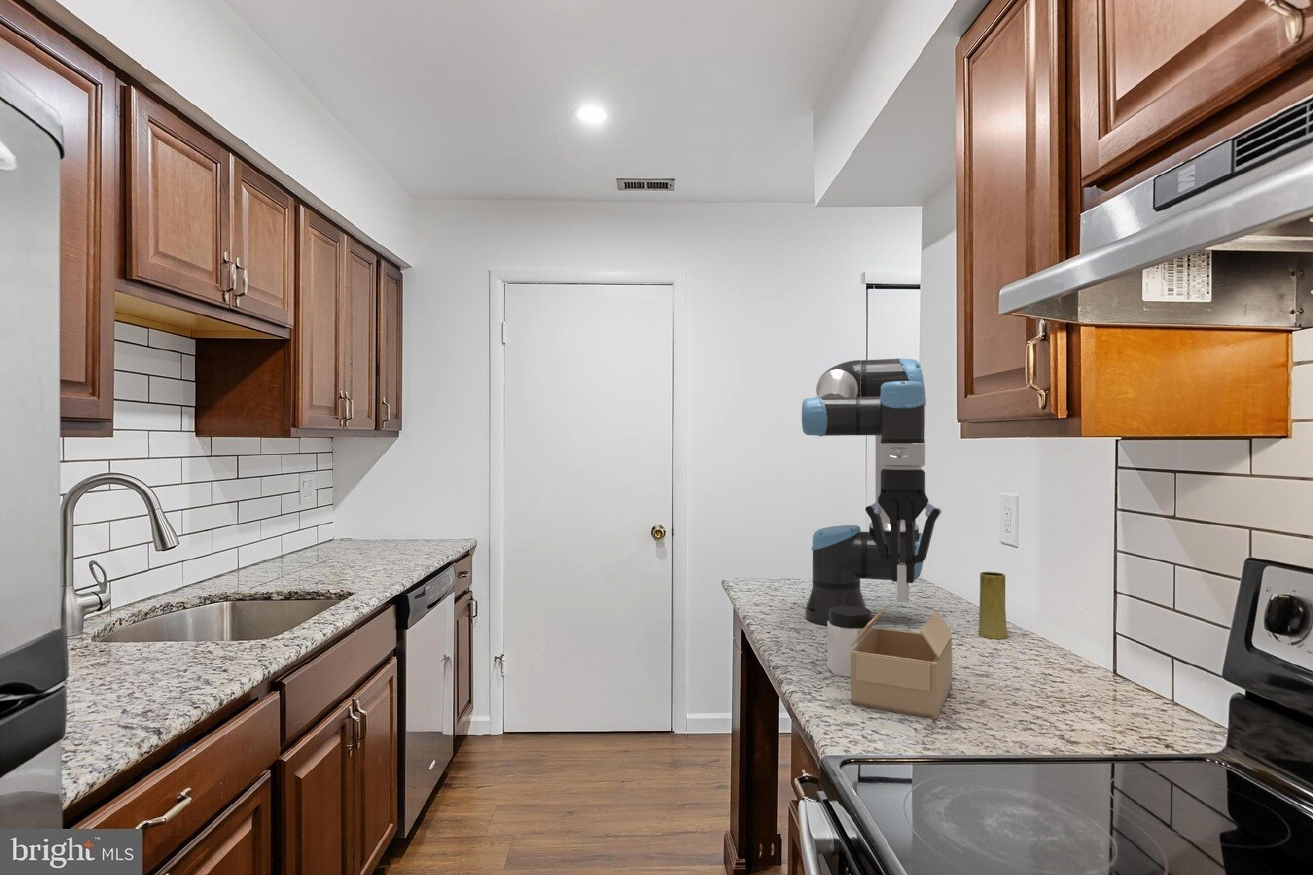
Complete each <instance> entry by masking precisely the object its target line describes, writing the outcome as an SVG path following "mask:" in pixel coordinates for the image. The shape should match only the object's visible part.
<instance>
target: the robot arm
mask: <svg viewBox="0 0 1313 875" xmlns="http://www.w3.org/2000/svg"><path fill="white" fill-rule="evenodd" d="M925 389H926V388H925V381H924V375H923V370H922V367H921V363H920V362H919V361H917V359H914V358H913V359H912V358H899V357H898V358H888V359H887V358H885V359H861V360H860V359H857V360H856V359H855V360H849V361H845V362H841V363H839V364H836V365H834V366H832V367H831V368H829V369H827V370H825V372H824V373H823V374H821V376H820V377H819V378H818V381H817V383H816V388H815V390H816V391H815V392H816V396H814V397H808V398H807V397H806V398H804V399H803V401H802V403H801V425H802V426H801V428H802V432H803V433H804V435H807V436H818V437H824V436H825V437H826V436H827V437H828V436H829V437H830V436H831V437H832V436H834V437H835V436H836V437H839V436H875V439H874V440H875V502H874V503H872V504H870V505H868V506H866V507H865V512H866V514H867V515H868V517H869V518H870V520H871V522H870V523H869V525H868V529H869V530H868V531H861V530H862V529H861V527H860V526H859V525H856V524H845V525H843V524H841V525H834V526H828V527H821V528H819V529H817V530H816V531H814V533H813V535H812V547H811V551H812V588H811V591H810V595H809V597H808V601H807V602H806V603H807V604H806V607H805V619H806V620H807V621H809V622H811V623H814V624H819V625H824V626H827V621H829V609H830V608H831V607H835V606H858V607H863V608H867V607H866V603H865V601H864V600H865V599H864V597H863V594H862V591H861V579H863V580H882V581H891V582H896V593H897V594H896V602H898V603H907V602H908V601H910V594H909V592H910V591H909V590H910V589H909V588H910V584H913V583H914V582H915V581H917V580H918V579H919V578H920V576H921V573H922V569H923V566H924V561H925V560H926V558H927V555H928V551H929V546H930V542H931V539H932V536H933V532H934V529H935V528H934V527H935V523H936V521H937V519H938V518H939V516H941V514H942V509H941V508H940V507H935V506H934V505H932V504H931V503H929V497H928V496H927V495H926V471H925V470H924V469H922V467H925V466H926V444H925V443H926V442H925V430H926V429H925V424H926V423H925V422H926V420H925V417H926V414H925V413H926V412H925V410H926V405H927V401H926V400H927V399H926V390H925ZM924 510H925V516H926V517H927V518H926V520H925V523H924V527H923V531H922V532H920V530H919V529H920V528H919V527H920V526H919V525H918V524H917V523H916V521H917V520H916V519H918V517H919V516H920V515H921V514H922V512H924Z"/></svg>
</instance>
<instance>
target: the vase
mask: <svg viewBox="0 0 1313 875" xmlns="http://www.w3.org/2000/svg"><path fill="white" fill-rule="evenodd" d="M979 574H980V575H979V580H980V581H979V615H978V616H979V618H978V619H979V621H978V622H979V623H978V625H979V626H978V635H979V636H980V637H982V638H986V639H993V640H1004V639H1007V638H1008V632H1007V631H1008V629H1007V627H1008V626H1007V617H1006V615H1007V614H1006V574H1005V573H1002V572H996V571H983V572H980V573H979Z"/></svg>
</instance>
